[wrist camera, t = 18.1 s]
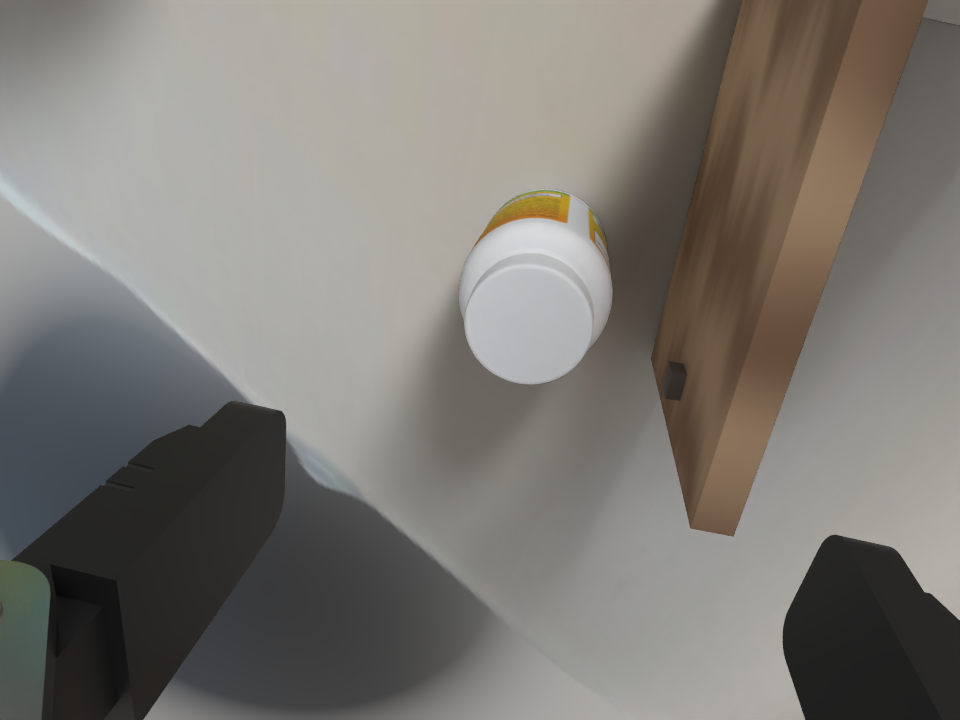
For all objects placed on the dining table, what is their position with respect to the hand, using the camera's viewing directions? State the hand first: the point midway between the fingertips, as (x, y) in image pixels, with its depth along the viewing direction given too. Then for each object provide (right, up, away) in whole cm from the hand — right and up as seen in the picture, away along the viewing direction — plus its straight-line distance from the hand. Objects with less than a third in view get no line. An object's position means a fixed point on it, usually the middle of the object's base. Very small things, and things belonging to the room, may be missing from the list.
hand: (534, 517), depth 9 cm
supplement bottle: (+2, +7, +19) cm, 20 cm away
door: (+9, +10, +16) cm, 20 cm away
